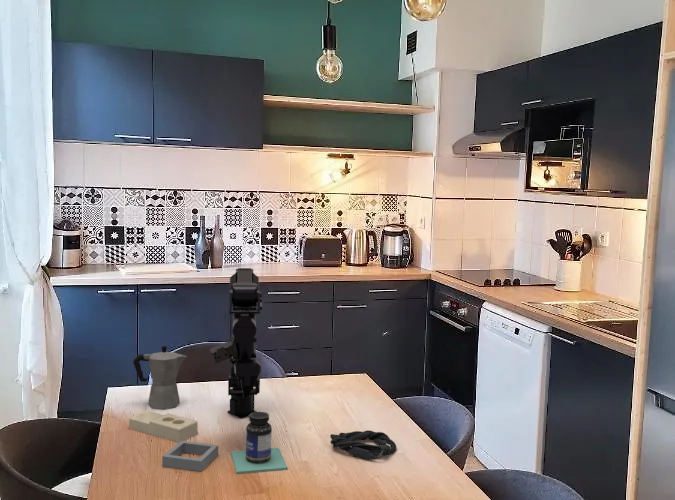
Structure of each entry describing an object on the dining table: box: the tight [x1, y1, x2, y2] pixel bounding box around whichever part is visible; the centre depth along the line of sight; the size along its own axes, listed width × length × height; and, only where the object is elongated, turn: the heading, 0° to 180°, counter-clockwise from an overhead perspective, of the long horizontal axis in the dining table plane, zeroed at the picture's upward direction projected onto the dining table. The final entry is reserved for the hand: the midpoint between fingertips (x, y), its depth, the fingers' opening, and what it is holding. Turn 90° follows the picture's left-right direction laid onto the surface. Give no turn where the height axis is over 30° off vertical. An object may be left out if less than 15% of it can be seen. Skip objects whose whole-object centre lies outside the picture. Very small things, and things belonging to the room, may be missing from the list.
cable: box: [329, 430, 397, 461], centre depth 170 cm, size 17×14×4 cm
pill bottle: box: [245, 411, 273, 463], centre depth 160 cm, size 6×6×11 cm
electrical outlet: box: [128, 410, 199, 443], centre depth 177 cm, size 7×4×18 cm
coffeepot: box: [132, 345, 188, 411], centre depth 197 cm, size 15×9×18 cm, turn 103°
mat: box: [230, 447, 289, 475], centre depth 160 cm, size 12×12×1 cm
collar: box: [161, 440, 219, 472], centre depth 159 cm, size 10×10×2 cm
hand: (243, 391), depth 172 cm, fingers open, 9 cm apart
